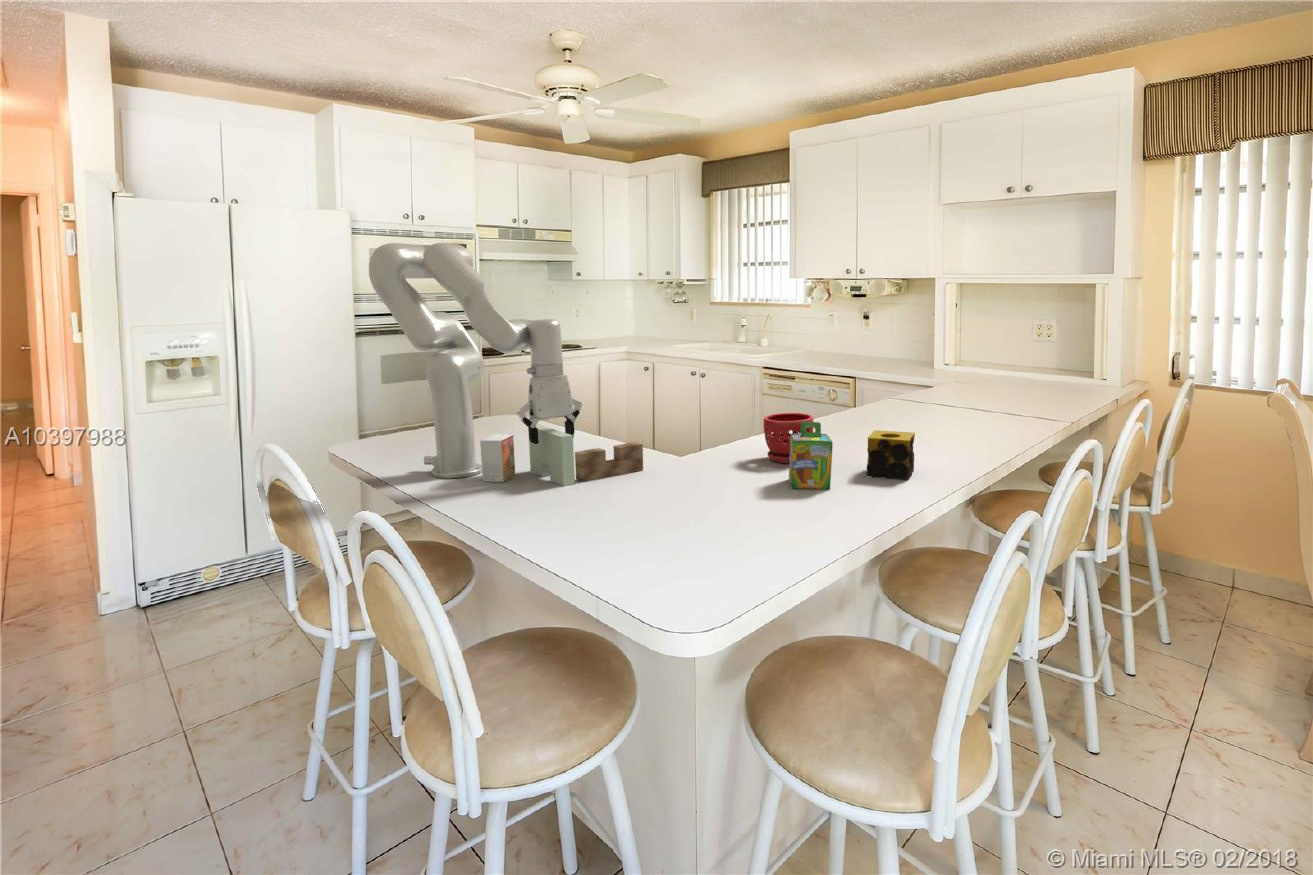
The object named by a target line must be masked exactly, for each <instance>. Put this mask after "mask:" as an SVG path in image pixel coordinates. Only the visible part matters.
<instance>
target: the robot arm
mask: <svg viewBox="0 0 1313 875" xmlns="http://www.w3.org/2000/svg"><path fill="white" fill-rule="evenodd" d="M473 267H474V259H473V256H472V254H471V253H470V251H469V250H468V248H466V247H465V246H463V245H461V244H457V243H451V242H449V243H448V242H436V243H433V244H414V243H413V244H411V243H399V242H390V243H384V244H382V245H380V246H378V247H377V248H375V250H374V251H373V252H372V254H371V256H370V259H369V263H368V275H369V276H368V277H369V280H370V283H371V285H372V288H373V290H374V292H375V293H376V295H377V296H378V297H379V299H380V300H381V301H382V302H383V303H384V305H385V306H386V308H387V309H388V311H389V312H390V314H391V315H392V317H393V318H394V320H395V322H396V323H397V325H398V326H399V328H400V329H401V330H402V332H403V333H404V335H405V336H406V338H407V339H408V341H409V342H410V343H411V345H412V346H413V347H414V348H415V349H417V350H418V351H420V352H432V351H438V352H435V353H434V354H433V355H431V357H430V358H429V359H428V362H427V363H426V368H425V369H426V379H427V383H428V386H429V389H430V394H431V401H432V411H433V412H432V414H433V424H434V434H435V435H434V436H435V437H434V438H435V449H436V455H435V456H431V455H425V456H424V457H423V464H424V465H431V466H433V468H432V469H431V475H432V476H433V477H437V478H440V479H457V478H458V479H459V478H465V477H466V478H467V477H472V476H476V475H478V474H480V473H482V464H480V463H478V462H477V461H476V460H477V459H476V448H475V447H476V446H475V444H476V443H475V431H474V430H475V429H474V418H473V407H472V405H473V403H472V398H471V395H470V392H469V389H468V387H467V384H471V383H474V382H476V381H477V380H479V379H480V378H481V377H482V376H483V374H484V372H485V359H484V357H483V355H482V353H481V351H480V350H479V348H478V347H477V345H476V344H475V342H474V341H473V339H472V338H471V336H470V335H469V333H468V332H467V331H466V329H465V327H464V325H462V323H461V322H460V321H459V320H458V319H457V318H456V317H455V316H454V315H452V314H450V313H449V312H448V313H447V312H444V311H432V309H431V308H430V307H429V306H428V304H427V303H426V301H425V300H424V298H423V297H422V295H421V294H420V293H419V292H418V290H416V289H415V287H414V286H412V285H411V284H410V282H408V281H407V279H434V280H435V281H436V282H437V283H438V284H439V285H440V286H441V287H442V288H444V290H445V291H446V292H448V294H450V296H451V297H452V298H453V299H454V300H455V301H456V302H457V303H459V305H460V306H461V307H462V309H463V312H464V315H465V317H466V320H467V321H468V323H469V324H470V326H471V327H472V329H473V330H474V331H475V332H476V334H477V335H479V337H481V338H482V339H483V340H484V341H485V342H486V343H487V345H489V347H491V348H493V350H496V351H498V352H500V353H503V354H504V353H505V354H506V353H507V354H509V353H513V352H518V351H523V350H527V349H529V350H530V360H531V361H530V362H531V363H530V367H529V368H526V372H527V374H528V375H529V374H530V375H531V377H530V378H529V384H528V402H527V403H526V404H525V405H523V406H522V407H520V408H519V409H517V410H516V414H517V416H518V418H519V419H520V421H521V422H522V423H523V424H524V425H525V426H526V427H527V430H528V431H529V432H528V441H529V440H530V441H531V443H534V444H538V443H539V439H538V428H536V425H538V424H539V422H540V420H542V421H543V420H551V419H556V418H557V419H558V418H564V419H566V420H564V433H567V434H570V435H573V439H574V438H575V435H574V434H575V422H576V419H577V417H578V416H579V414H580V411H581V410H582V409H581V408H582V406H583V403H582V402H581V401H579V400H576V399H574V398H572V391H571V386H570V383H569V382H570V381H569V379H568V376H567V375H566V374H564V364H563V363H564V362H563V360H564V359H563V346H562V344H563V343H562V334H561V333H562V332H561V324H560V322H559V321H558V320H557V319H553V318H549V319H533V320H532V319H524V318H523V319H522V318H517V319H506V318H505V317H504V316H503V315H502V314H501V313H500V312H499V311H498V310H497V309H496V308H495V307H494V306H493V304H492V303H491V301H490V300H489V298H488V291H489V283H488V282H487V280H486V279H485V278H484V277H483V276H482V275H480V273H479V272H478V271H476V270H475V269H474V268H473ZM527 412H529V413H528V414H529V418H528V417H527V416H526V413H527Z"/></svg>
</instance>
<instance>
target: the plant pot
mask: <svg viewBox="0 0 1313 875" xmlns="http://www.w3.org/2000/svg"><path fill="white" fill-rule="evenodd" d="M802 422H814V417H813V416H812V415H811V414H807V413H800V412H798V413H797V412H786V413H785V412H784V413H783V412H782V413H772V414H769V415H766V416H764V417H763V434H764V439H765V443H766V446H767V447H768V449H769V451H768V452H767V457H768V458H769V460H771V461H772V462H776V463H781V464H783V465H785V464H790V434H791V433H790V431H791V432H792V433H801V423H802ZM806 431H807V432H808V433H814V427H808V428H806Z"/></svg>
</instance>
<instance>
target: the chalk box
mask: <svg viewBox="0 0 1313 875" xmlns="http://www.w3.org/2000/svg"><path fill="white" fill-rule="evenodd" d="M808 427H813V429H815V430H814V431H813V433H808V432H807V431H806V428H808ZM833 445H834V444H833V440H832V439H831V437H830V436H829V435H828V434H827V433H822V424H821V422H819V421H813V422H802V423H801V433H799V432H798V433H793V432H792V433H790V463H788V464H789V467H788V468H789V469H788V470H789V471H788V481H789V485H790V488H791V489H804V490H805V489H806V490H807V489H808V490H810V489H811V490H831V479H832V461H833V460H832V459H833Z"/></svg>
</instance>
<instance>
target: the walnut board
mask: <svg viewBox="0 0 1313 875" xmlns="http://www.w3.org/2000/svg"><path fill="white" fill-rule="evenodd" d="M643 444H644V443H641V442H638V441H636V442H635V441H634V442H628V443H627V442H626V443H622V444H617V445H616V444H615V445H613V459H606V452H607V451H606V449H603V448H600V447H598V448H592V449H584V450H579V451H574V468H575V481H577V482H580V483H586V482H590V481H596V480H602V479H606V478H612V477H618V476H622V475H627V474H631V473H633V474H634V473H637V472H643V471H644V448H643V447H644V445H643Z"/></svg>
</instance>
